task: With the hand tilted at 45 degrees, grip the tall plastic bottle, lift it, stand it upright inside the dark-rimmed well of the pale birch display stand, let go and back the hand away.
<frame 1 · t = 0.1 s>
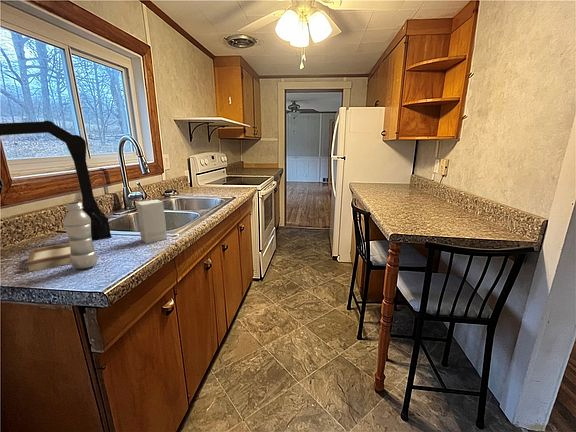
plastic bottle: (85, 267, 83), on the worktop
skincare box: (154, 240, 108), on the worktop
display stand: (58, 259, 88), on the worktop
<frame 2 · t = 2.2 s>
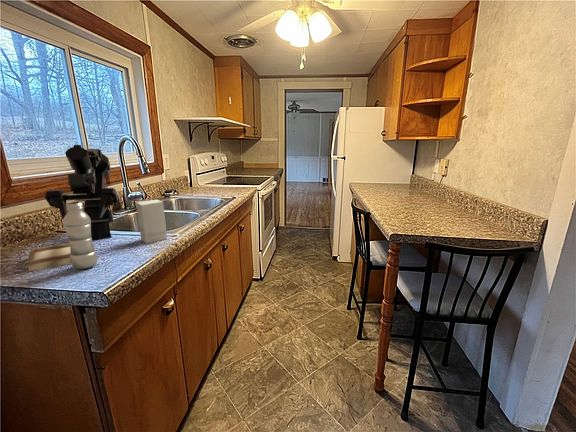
hand: (82, 218, 86), 13 cm above the worktop, tool tilted 45°, fingers open, 9 cm apart
nothing on the worktop moved.
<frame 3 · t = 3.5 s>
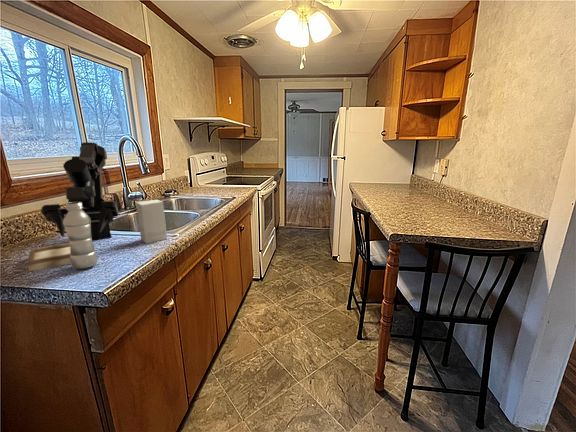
hand: (81, 234, 82), 10 cm above the worktop, tool tilted 45°, fingers open, 9 cm apart
nothing on the worktop moved.
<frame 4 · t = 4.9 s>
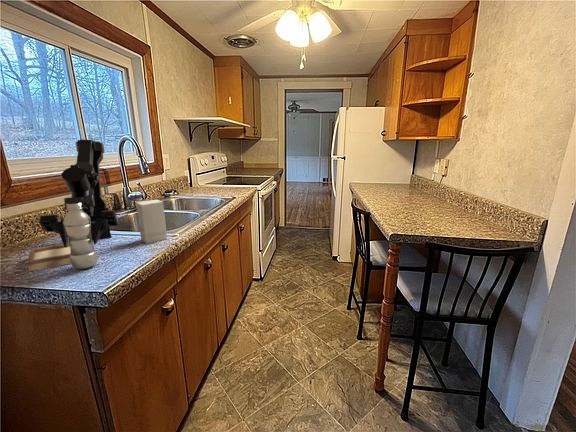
hand: (80, 245, 80), 8 cm above the worktop, tool tilted 45°, fingers open, 7 cm apart
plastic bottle: (85, 267, 83), on the worktop, touching gripper
everything else where it was.
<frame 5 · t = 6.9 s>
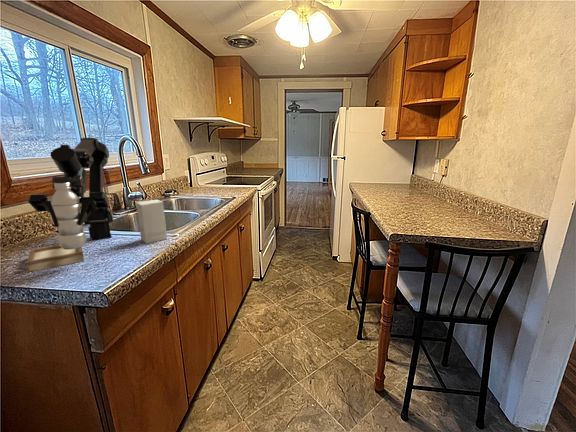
hand: (68, 225, 79), 13 cm above the worktop, tool tilted 45°, fingers closed on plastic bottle, 5 cm apart
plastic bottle: (74, 248, 83), point 6 cm above the worktop, touching gripper
everything else where it was.
when the fingers open (11 cm above the worktop, at t = 8.9 s): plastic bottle drops 2 cm, resting on display stand.
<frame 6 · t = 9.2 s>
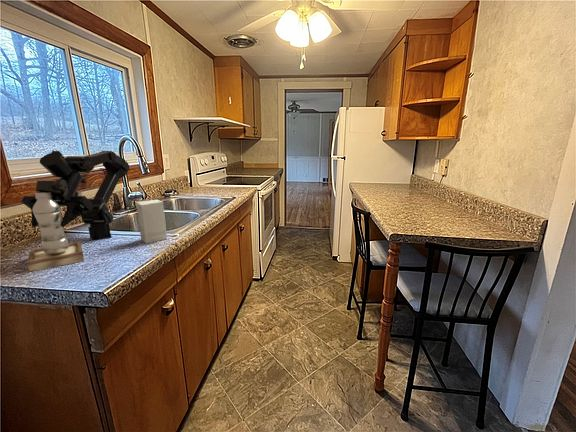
hand: (47, 226, 84), 12 cm above the worktop, tool tilted 45°, fingers open, 8 cm apart
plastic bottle: (57, 253, 88), point 2 cm above the worktop, touching display stand, gripper
everything else where it was.
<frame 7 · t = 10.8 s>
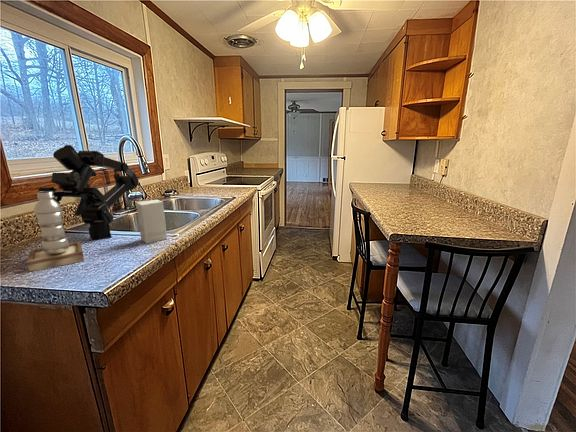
hand: (62, 215, 90), 13 cm above the worktop, tool tilted 45°, fingers open, 9 cm apart
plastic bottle: (57, 253, 88), point 2 cm above the worktop, touching display stand
everything else where it was.
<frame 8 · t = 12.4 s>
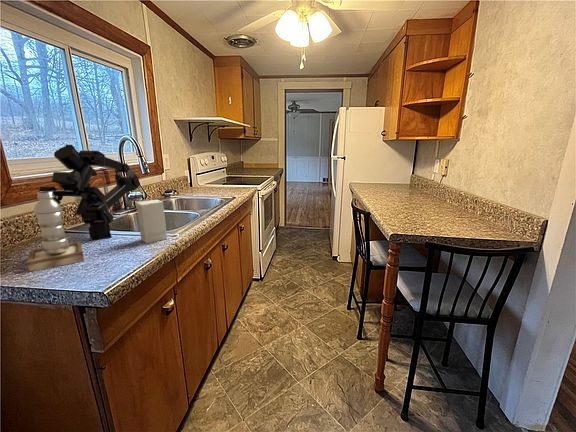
hand: (62, 214, 91), 14 cm above the worktop, tool tilted 45°, fingers open, 9 cm apart
nothing on the worktop moved.
at the end: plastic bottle 0.5 cm off-centre on the display stand, point 1.8 cm above the display stand's base; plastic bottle tilted 0°; the gripper is holding nothing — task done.
